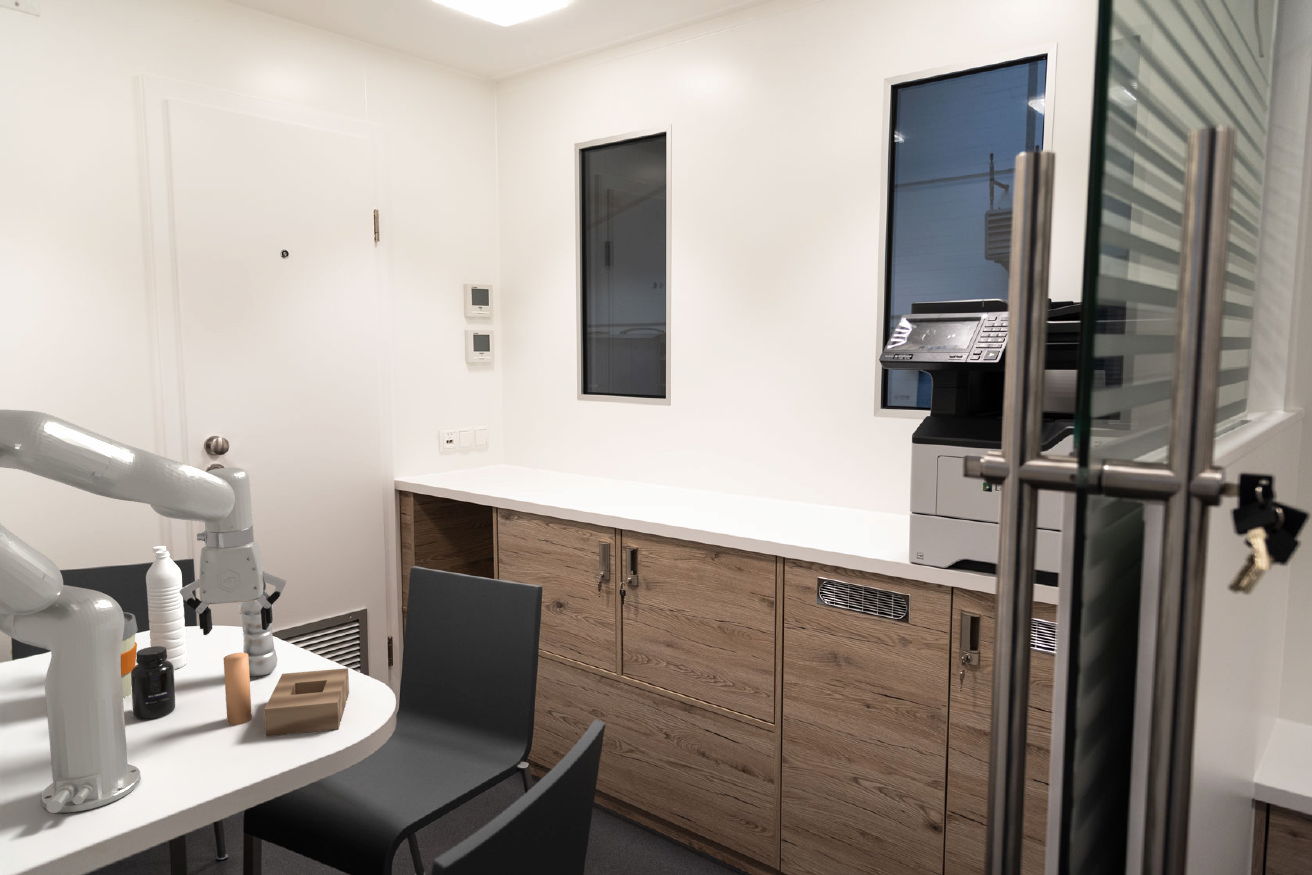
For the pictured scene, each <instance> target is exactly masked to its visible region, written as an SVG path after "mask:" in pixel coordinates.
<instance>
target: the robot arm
mask: <svg viewBox="0 0 1312 875" xmlns="http://www.w3.org/2000/svg"><path fill="white" fill-rule="evenodd" d="M0 468H3V469H5V468H6V469H14V470H19V471H23V472H26V473H31V474H33V475H37V476H39V477H42V478H45V479H47V480H51V481H55V482H58V483H61V484H64V485H67V486H71V487H73V488H76V489H78V490H82V491H84V492H88V493H91V494H93V495H96V496H101V497H105V498H109V499H113V500H114V499H115V500H119V501H120V500H121V501H125V502H126V501H128V502H134V503H141V504H147V505H150V507H151V509H152V510H154V512H155V513H156V514H159V515H160V516H162V517H165V518H168V519H169V518H170V519H172V520H173V519H175V520H182V521H191V522H192V521H193V522H201V523H204V531H202V532H197V534H196V541H197V542H199V541H201V542H204V544H205V545H204V546H203V547H202V548H201V550H200V556H199V557H200V558H199V578H198V579H196V580H194V581H193V582H191V583H189V584H187V585H185V586H182V589H181V590H180V594H181V595H182V597H183V601H186V604H187V606H189V607H190V608H191V609H193V610H194V611H195V613H197V614H198V621H199V630H202V632H203V636H207V635H209V634H210V632H211V631H212V630H213V621H212V620H213V618H212V617H213V616H212V608H210V607H209V605H220V604H232V603H240V602H247V601H254V600H257V601H258V602H259V603H260V604H261V605H262V609H261V622H262V629H263V630H267V628H268V627H269V625H270V623H272V624H273V617H272V604H273V603H274V604H275V602H277V600H278V599H279V598H280V597H281V596H282V593H283V591H284V589H285V588H286V587H285V586H286V584H287V581H286V580H285V579H283V578H280V577H278V576H275V575H272V574H270V573H267V572H265V566H264V560H263V556H262V551H261V548H260V544H259V542H258V541H257V540H255V539H254V526H253V525H254V524H253V513H252V511H253V509H252V498H251V484H250V476H249V473H248V471H247V470H246V469H244V468H240V467H221V468H214V469H209V470H207V471H204V470H203V469H200V468H197V467H195V466H192V465H189V464H186V463H183V462H181V461H178V460H174V459H172V458H167V457H165V456H162V455H159V454H155V453H152V452H150V451H147V450H144V449H141V448H138V447H136V446H132V445H128V444H126V443H123V442H121V441H117V440H115V439H112V438H109V437H108V436H105V435H103V434H99V433H96V432H94V431H92V430H89V429H87V428H84V427H82V426H79V425H78V424H75V423H71V422H70V421H68V420H64V419H63V418H62V419H61V418H59V417H58V416H55V415H51V414H48V413H46V412H41V411H35V410H21V409H20V410H19V409H0ZM254 540H255V541H254ZM267 584H268V585H271V586H274V587H275V589H274V592H272V593H271V594H269V593H268V592H265V591H266V589H267ZM197 589H199V598H200V599H199V598H197V597H196V596H195V595H194V594H193V591H195V590H197ZM123 612H124V611H123V609H122V607H121V605H120V604H119V603H118V602H117V601H116V600H115V599H114V598H113V597H112V596H110V595H108V594H106V593H103V592H102V591H99V590H94V589H91V588H90V589H89V588H83V587H80V586H79V587H77V586H72V585H66V584H64V579H63V575H62V573H61V570H60V569H59V567H58V566H57V565H56V564H55V563H54V561H53V560H52V559H50V558H49V557H48V556H46V555H45V554H43V553H41V551H38V550H37V549H36V548H34V547H32V545H29V543H26V542H25V540H23V539H21V538H20V537H18V536H17V535H15V533H13V532H12V531H10V530H9V529H8V528H6V527H5V526H4V525H3V524H2V523H1V522H0V632H1V633H3V634H5V635H6V636H8V637H10V638H12V639H13V640H16V641H17V642H19V643H22V644H25V645H29V646H32V647H37V648H40V649H45V650H47V651H50V654H51V657H50V661H49V664H48V668H47V670H46V674H45V680H44V693H45V702H46V703H45V704H46V705H45V706H46V715H47V717H46V718H47V725H48V740H49V752H50V760H51V761H50V764H51V776H52V783H50V784H49V785H48V786H46V788H45V789H44V790H43V792H42V793H41V796H40V797H41V799H40V800H41V806H42V807H43V808H44V809H45V810H47V811H48V813H50V814H56V813H76V812H77V813H78V812H83V811H88V810H92V809H96V808H100V807H102V806H105V805H108V804H111V803H113V802H115V801H118V800H120V799H121V798H123V797H125V796H127V795H128V794H129V793H131V792H133V790H135V789H136V788H137V786H139V784H140V781H141V780H142V779H141V778H142V777H141V771H140V769H139V768H138V767H137V766H135V765H133V764H129V763H128V750H127V736H126V735H127V734H126V724H125V723H126V722H125V707H124V706H125V705H124V699H123V692H122V681H121V646H122V639H123V633H124V623H125V622H124V614H123Z"/></svg>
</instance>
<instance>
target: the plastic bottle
mask: <svg viewBox="0 0 1312 875" xmlns="http://www.w3.org/2000/svg"><path fill="white" fill-rule="evenodd" d="M265 592H266V590H265ZM274 604H275V602H274V603H273V604H272V617H273V615H274ZM261 609H262V605H261V604H260V603H259V602H258V601H257V600H254V601H247V602H239V604H238V613H239V617H240V622H241V627H242V633H243V635H242V636H243V652H242V653H247V654H248V659H249V677H262V676H265V675H269V674H271V673H272V672H274V671H275V669H276V667H277V664H278V657H277V653H276V649H275V644H274V638H273V637H274V636H273V622H272V623H270V625H269V627H268V628H267V630H263V629H262V622H261Z"/></svg>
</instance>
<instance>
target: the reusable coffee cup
mask: <svg viewBox="0 0 1312 875" xmlns="http://www.w3.org/2000/svg"><path fill="white" fill-rule="evenodd" d="M123 614H124V622H125V623H124V633H123V639H122V646H121V681H122V692H123V698H124V699H126V698H127V697H129V696H130V695H131V694H132V686H131V671H132V669H133V668H134V667H135V666H136V665H137V663H136V659H137V656H136V654H137V652H138V651H137V650H138V649H137V648H138V647H137V646H138V644H137V642H136V633H138V625H137V620H136V616H135V614H134V613H130V612H125V611H123ZM129 694H130V695H129ZM126 696H127V697H126ZM125 697H126V698H125Z"/></svg>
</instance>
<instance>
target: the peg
mask: <svg viewBox="0 0 1312 875" xmlns="http://www.w3.org/2000/svg"><path fill="white" fill-rule="evenodd" d="M223 671H224V673H223V674H224V686H225V688H224V689H225V706H226V707H225V708H226V721H227V724H228V725H230V726H240V725H243V724H247V723H249V722H250V721H251V720H252V718H253V716H252V714H253V712H252V700H251V699H252V698H251V678H250V677H251V676H249V659H248V654H247V653H243V652H235V653H230V654H227V655H225V656H224V657H223Z"/></svg>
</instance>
